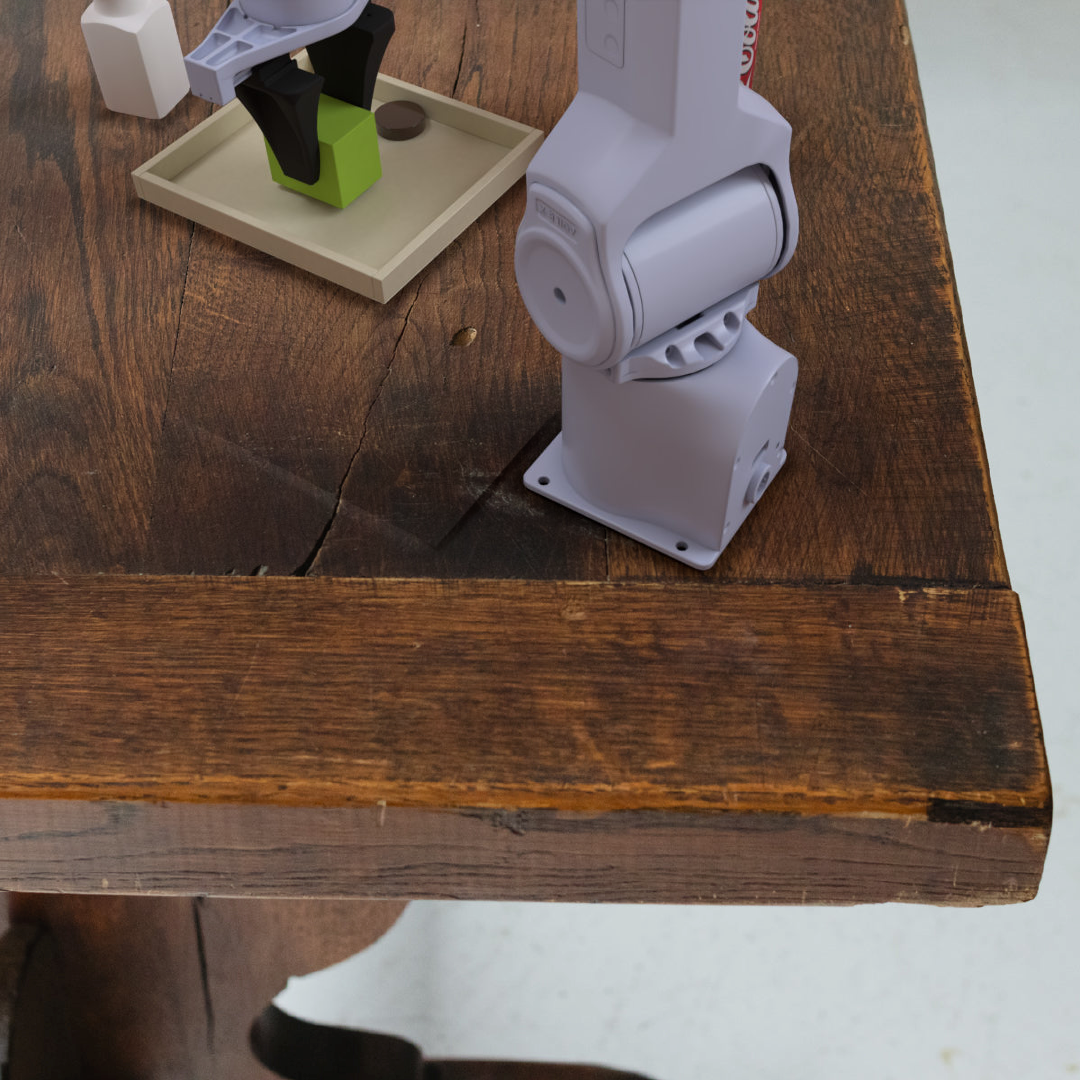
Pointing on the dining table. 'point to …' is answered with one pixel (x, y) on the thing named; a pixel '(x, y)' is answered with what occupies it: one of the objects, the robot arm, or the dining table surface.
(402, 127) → the dark brown disc
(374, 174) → the sponge
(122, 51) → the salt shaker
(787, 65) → the dining table surface
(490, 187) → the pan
